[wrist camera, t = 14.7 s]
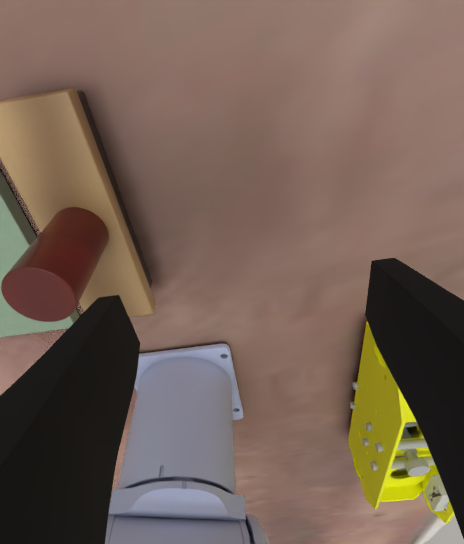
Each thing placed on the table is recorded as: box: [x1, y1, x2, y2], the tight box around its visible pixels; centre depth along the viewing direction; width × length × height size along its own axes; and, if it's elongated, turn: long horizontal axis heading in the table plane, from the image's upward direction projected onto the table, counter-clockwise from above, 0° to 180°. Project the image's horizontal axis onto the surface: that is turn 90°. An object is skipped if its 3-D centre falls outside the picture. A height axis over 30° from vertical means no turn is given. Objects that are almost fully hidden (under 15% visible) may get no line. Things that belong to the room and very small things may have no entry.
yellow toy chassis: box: [348, 321, 454, 523], centre depth 25 cm, size 16×6×8 cm, turn 7°
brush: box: [0, 87, 155, 322], centre depth 16 cm, size 4×12×8 cm, turn 9°
